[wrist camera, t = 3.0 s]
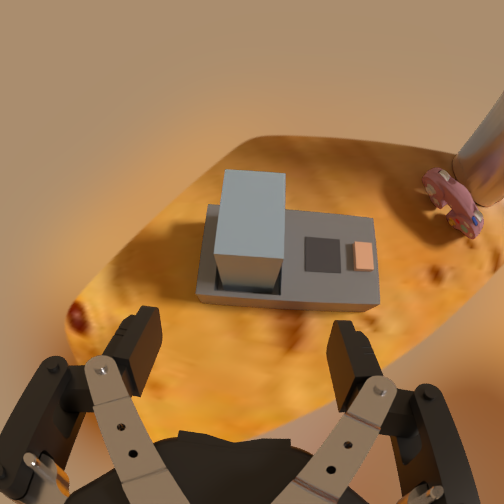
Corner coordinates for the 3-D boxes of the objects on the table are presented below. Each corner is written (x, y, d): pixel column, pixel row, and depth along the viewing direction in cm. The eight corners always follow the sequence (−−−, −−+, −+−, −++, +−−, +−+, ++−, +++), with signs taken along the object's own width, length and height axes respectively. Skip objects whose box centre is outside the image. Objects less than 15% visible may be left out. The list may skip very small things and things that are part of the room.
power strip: (360, 233, 28) (375, 215, 25) (364, 311, 26) (383, 302, 22) (212, 222, 29) (207, 200, 25) (201, 303, 26) (194, 292, 22)
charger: (274, 229, 27) (285, 173, 19) (271, 293, 25) (283, 258, 17) (230, 226, 27) (225, 169, 19) (224, 290, 25) (213, 253, 17)
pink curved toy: (410, 191, 33) (420, 173, 26) (431, 169, 32) (444, 148, 25) (458, 249, 30) (479, 243, 23) (478, 226, 29) (501, 216, 22)
